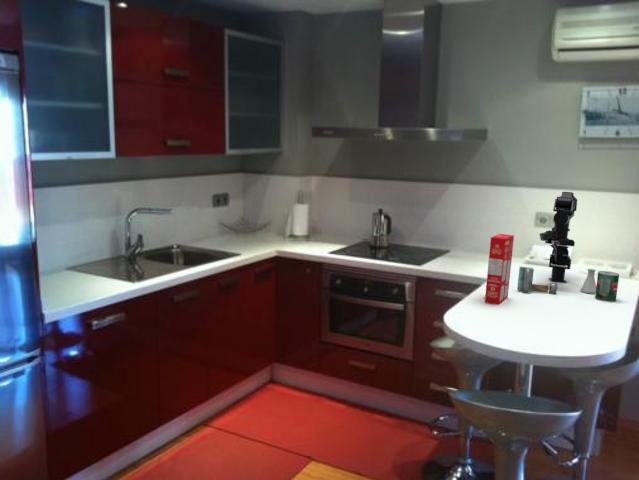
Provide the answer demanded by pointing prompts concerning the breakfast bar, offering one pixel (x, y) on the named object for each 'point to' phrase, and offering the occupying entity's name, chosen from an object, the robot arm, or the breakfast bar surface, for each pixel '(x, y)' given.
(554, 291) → the hinge post
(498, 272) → the food packaging
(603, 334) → the breakfast bar surface
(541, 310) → the breakfast bar surface
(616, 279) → the canned tomato
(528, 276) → the post
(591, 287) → the flask
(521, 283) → the gate
